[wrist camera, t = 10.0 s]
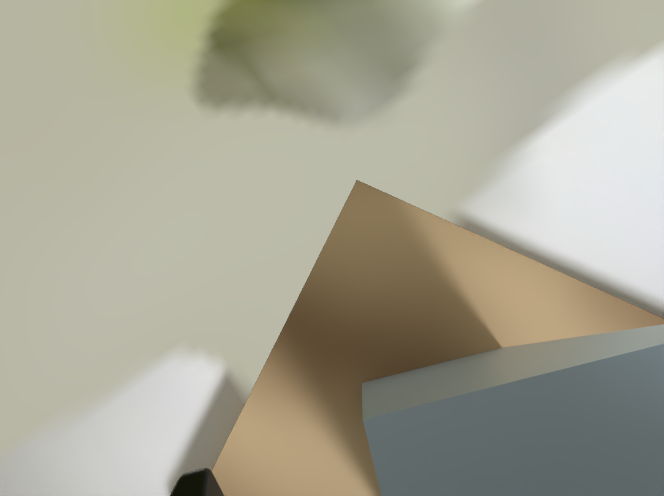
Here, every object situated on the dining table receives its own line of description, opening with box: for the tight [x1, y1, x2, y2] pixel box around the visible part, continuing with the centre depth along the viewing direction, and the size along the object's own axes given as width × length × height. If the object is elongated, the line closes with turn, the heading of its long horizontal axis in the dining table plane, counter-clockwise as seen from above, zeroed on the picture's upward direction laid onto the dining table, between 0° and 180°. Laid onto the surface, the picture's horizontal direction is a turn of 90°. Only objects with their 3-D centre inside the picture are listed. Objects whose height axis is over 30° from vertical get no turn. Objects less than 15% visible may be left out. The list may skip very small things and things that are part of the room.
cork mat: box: [212, 180, 664, 496], centre depth 17 cm, size 11×11×1 cm
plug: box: [362, 324, 664, 496], centre depth 10 cm, size 4×4×12 cm
